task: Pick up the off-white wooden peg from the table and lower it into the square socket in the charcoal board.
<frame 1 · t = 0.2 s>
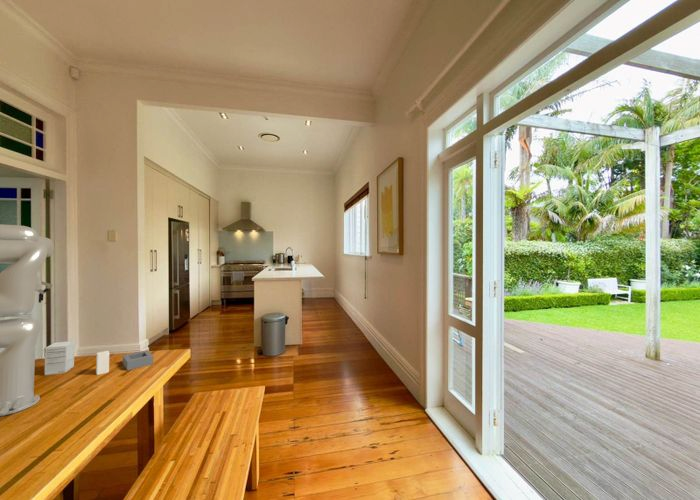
hand: (24, 303, 124), 31 cm above the table, tool pointing down, fingers open, 9 cm apart
supplement box: (59, 371, 122), on the table
peg: (102, 372, 122), on the table
socket board: (137, 363, 132), on the table
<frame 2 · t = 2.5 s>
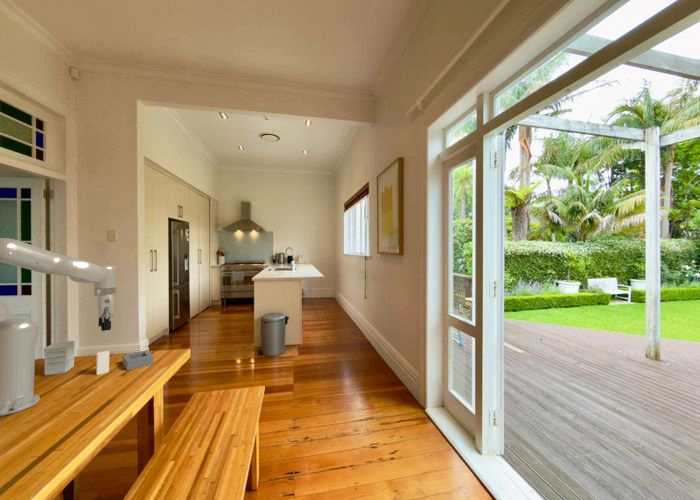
hand: (104, 328, 122), 20 cm above the table, tool pointing down, fingers open, 9 cm apart
nothing on the table moved.
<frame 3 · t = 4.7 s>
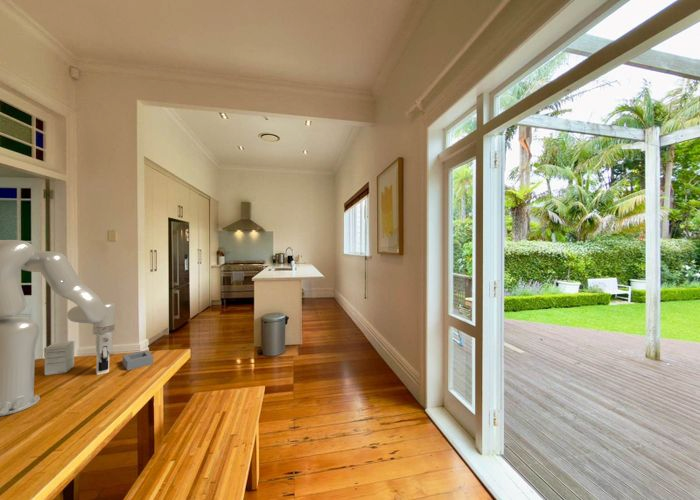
hand: (102, 368, 122), 2 cm above the table, tool pointing down, fingers closed on peg, 4 cm apart
peg: (102, 372, 122), on the table, touching gripper
everything else where it was.
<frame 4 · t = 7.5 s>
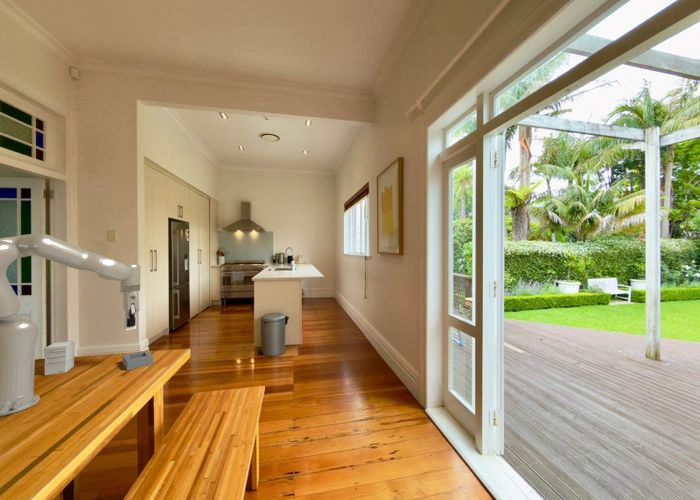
hand: (130, 325, 130), 20 cm above the table, tool pointing down, fingers closed on peg, 4 cm apart
peg: (130, 328, 130), point 18 cm above the table, touching gripper
everything else where it was.
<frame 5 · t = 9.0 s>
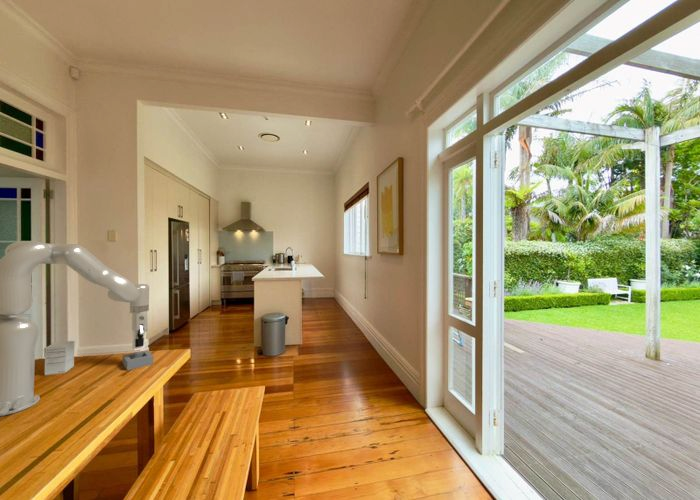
hand: (138, 344, 132), 9 cm above the table, tool pointing down, fingers closed on peg, 4 cm apart
peg: (138, 348, 132), point 8 cm above the table, touching gripper
everything else where it was.
when the fingers open (5 cm above the table, at t = 10.2 s): peg drops 3 cm, resting in socket board.
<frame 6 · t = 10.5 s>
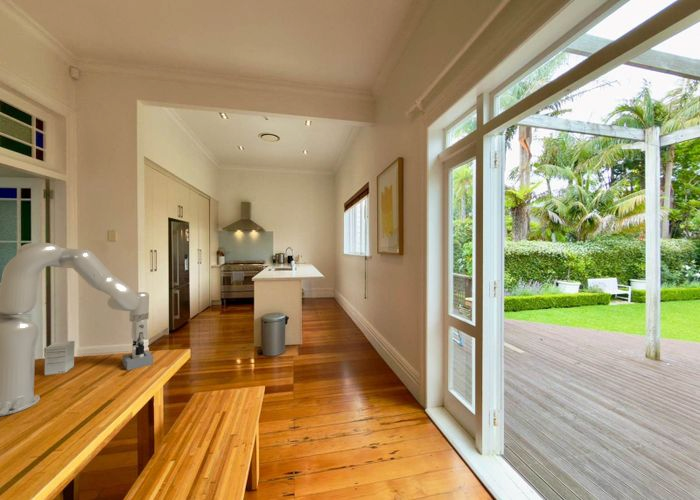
hand: (138, 352, 132), 6 cm above the table, tool pointing down, fingers open, 6 cm apart
peg: (137, 363, 132), resting in socket board
everything else where it was.
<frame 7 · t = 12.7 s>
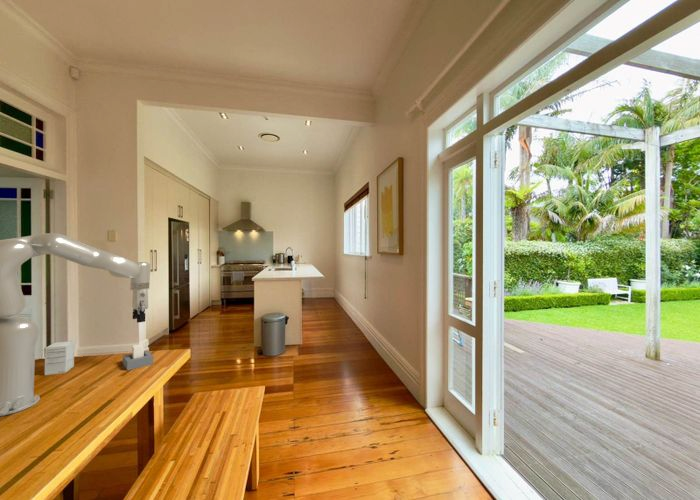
hand: (138, 320, 132), 22 cm above the table, tool pointing down, fingers open, 9 cm apart
nothing on the table moved.
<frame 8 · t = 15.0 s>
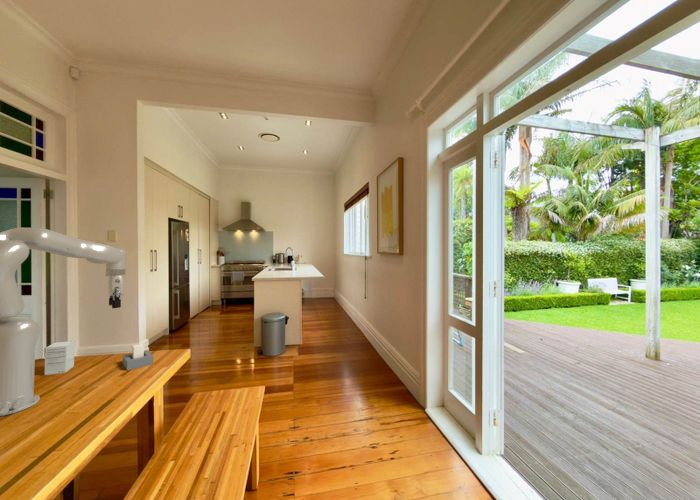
hand: (114, 306, 133), 28 cm above the table, tool pointing down, fingers open, 9 cm apart
nothing on the table moved.
at the end: peg 0.1 cm off-centre on the socket board, point 0.0 cm above the socket board's base; peg tilted 0°; the gripper is holding nothing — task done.
